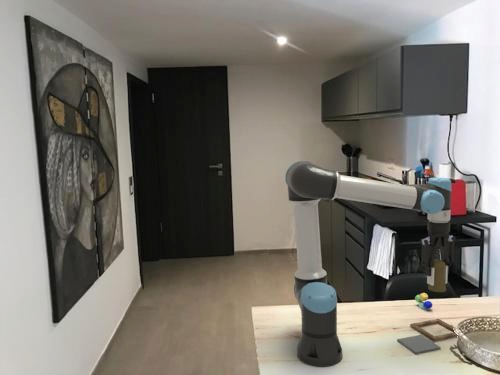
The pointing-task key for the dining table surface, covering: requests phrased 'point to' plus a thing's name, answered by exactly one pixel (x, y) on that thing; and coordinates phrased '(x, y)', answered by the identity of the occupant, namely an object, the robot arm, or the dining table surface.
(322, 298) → the robot arm
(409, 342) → the slate pad
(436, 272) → the cork
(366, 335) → the dining table surface
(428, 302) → the colourful toy
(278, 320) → the dining table surface
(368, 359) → the dining table surface
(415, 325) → the wooden square frame
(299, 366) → the dining table surface
